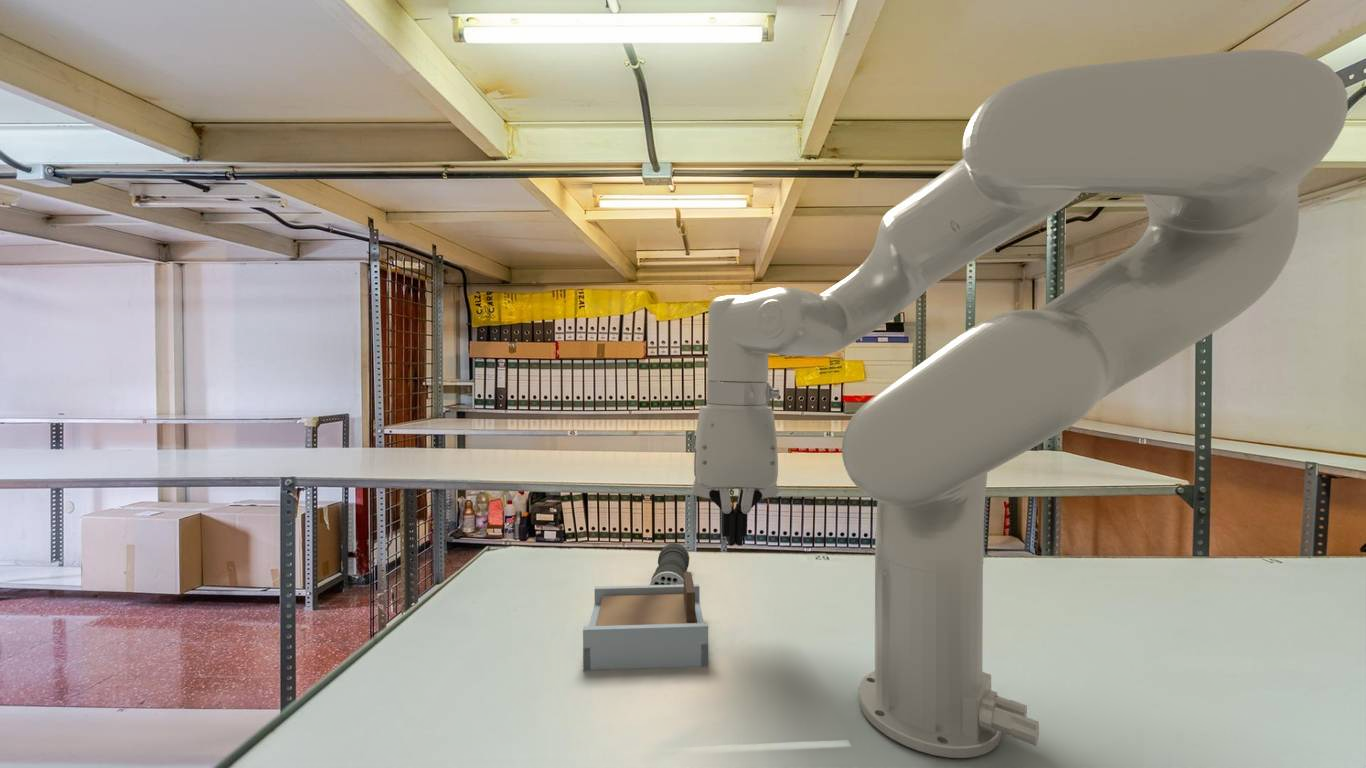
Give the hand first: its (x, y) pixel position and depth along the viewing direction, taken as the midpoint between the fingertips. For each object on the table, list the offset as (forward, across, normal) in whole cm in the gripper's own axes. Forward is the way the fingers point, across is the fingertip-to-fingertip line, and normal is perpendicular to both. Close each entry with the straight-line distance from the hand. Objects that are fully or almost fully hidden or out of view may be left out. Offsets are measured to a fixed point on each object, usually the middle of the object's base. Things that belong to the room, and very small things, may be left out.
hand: (733, 541), depth 65 cm
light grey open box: (+13, +11, +1) cm, 17 cm away
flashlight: (+13, +7, -16) cm, 22 cm away
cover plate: (+10, +11, +1) cm, 14 cm away
